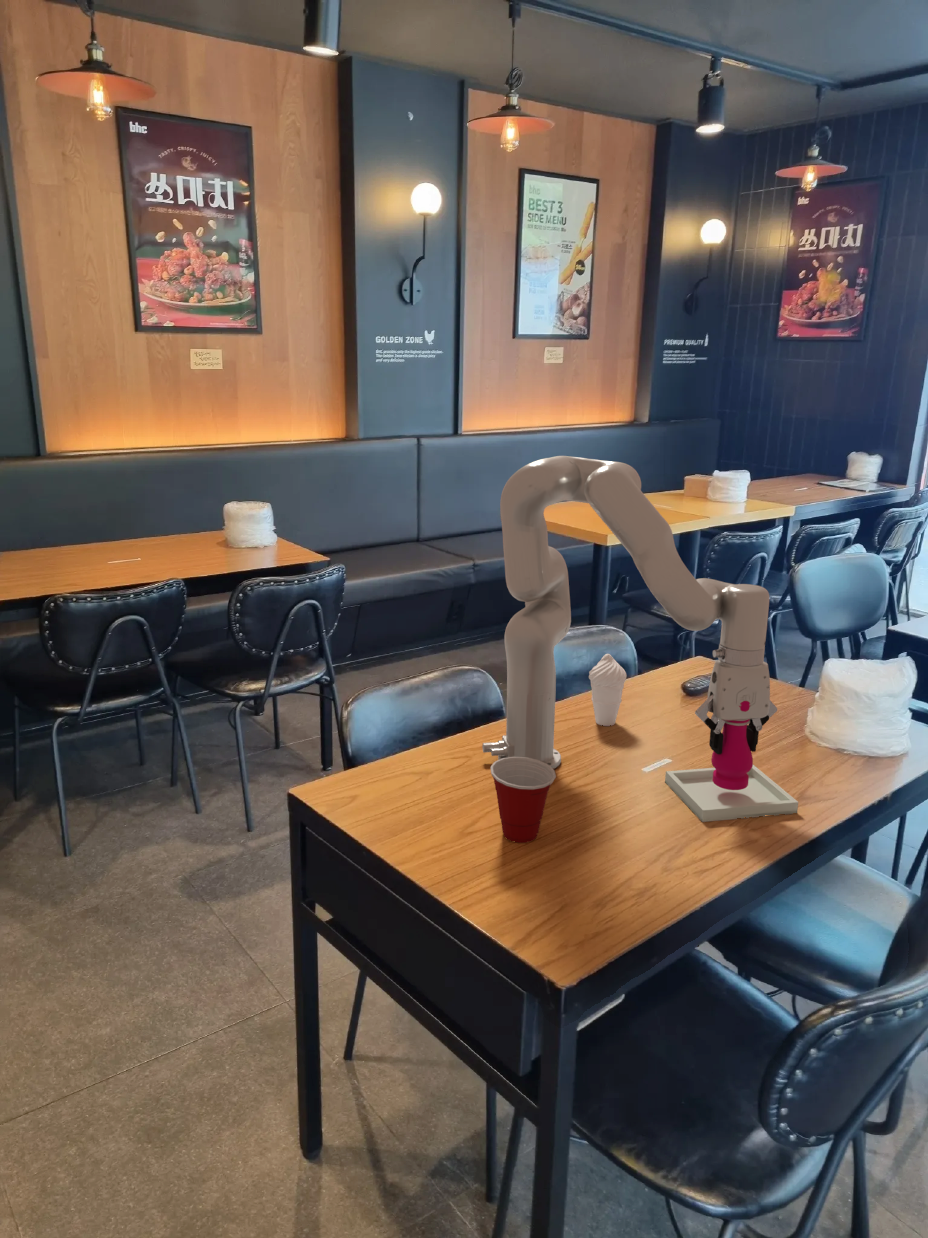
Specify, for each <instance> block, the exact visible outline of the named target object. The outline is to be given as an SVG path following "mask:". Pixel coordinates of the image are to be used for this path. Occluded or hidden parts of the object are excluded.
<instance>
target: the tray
mask: <svg viewBox="0 0 928 1238" xmlns="http://www.w3.org/2000/svg"><path fill="white" fill-rule="evenodd" d="M714 770H715V768H714V767H708V768H707V767H706V768H705V767H704V768H693V769H692V768H691V769H678V770H668V771H665V777H664V778H665V780H664V783H665V784H666V785H667V786H668V787H669V788H670V789H671V790H672V791H673V792H674V793H675V795H676V796H677V797H678V798H679V799H680V800H681V801H682V803H684V805H686V806H687V807H688V809H690V811H691V812H692V813H693V814H694V815H695V816H696V817H697V818H698V819H699V821H701V822H702V823H705V822H706V823H707V822H716V821H726V820H727V821H728V820H738V819H737V818H741V819H750V818H749V817H752V818H759V816H763V817H766V816H765V815H774V816H780V815H779V814H785V815H794V814H793V813H797V814H798V810H799V809H798V808H799V801H798V800H797V799H795V798H794V797H793V796H792V795H791V794H790V793H788V792H787V791H786V790H785V789H783V788H782V787H781V786H780V785H779V784H777V783H776V782H775V781H774V780H773V779H771V778H770V777H769V776H768V775H767V774H765V773H764V772H763V771H762V770H761V769H759V768H758V767H757V766H756V765H754V764H753V766H752V768H751V770H750V771H749V772H748V773H747V774H748V776H749V780H748V786H747V787H746V788H744V789H741V790H728V789H723V788H721V787H718V786H717V785H715V784H714V783H713V771H714ZM744 817H746V818H744Z"/></svg>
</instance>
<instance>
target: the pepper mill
mask: <svg viewBox="0 0 928 1238" xmlns="http://www.w3.org/2000/svg"><path fill="white" fill-rule="evenodd" d="M740 704H741V706H739V707H740V710H741V711H743V712H746V711H748V710H749V708H750V706H751V705H750V706H749V704H750V702H748V701H743V702H741V703H740ZM749 723H750V719H747V720H732V721H725V723H724V726H723V728H722V731H721V733H722V734H723V747H722V753H721V754H717V753H715V752H714V751H713V750H712V754H711V758H710V759H711V764H712V766H713V768H715V770H714V771H713V783H714V784H715V785H717V786H718V787H721V788H723V789H728V790H741V789H744V788H746V787H747V786H748V780H749V776H748V774H747V773H748V772H749V771H750V770H751V768H752V766H753V765H754V763H753V762H754V759H753V752H752V751H751V750H750V748H749V746H748V743H747V738H746V729H747V725H749Z"/></svg>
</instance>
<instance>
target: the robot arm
mask: <svg viewBox="0 0 928 1238" xmlns="http://www.w3.org/2000/svg"><path fill="white" fill-rule="evenodd" d="M564 501H568V502H578V503H585V504H589V505H590V507H591V508H592V510H593V511H594V512H595V513H596V514H597V516H598V517H599V518H600V519H601V520H602V522H603V523H604V524H605V525H606V526H607V527H608V529H609V531H611V533H612V534H613V535H614V536H615V537H616V539H617V540H618V541H619V542H620V544H621V545H622V546H623V548H624V549H626V551H627V552H628V554H629V555H630V556H631V558H632V560H633V563H634V565H635V567H636V568H637V570H638V572H639V574H640V575H641V577H642V579H643V581H644V583H645V584H646V586H647V588H648V589H649V591H650V592H651V594H652V595H653V597H654V598H655V599H656V600H657V601H658V603H659V605H661V607H662V608H663V609H664V610H665V612H666V613H667V614H668V615H669V616H670V617H671V618H672V620H673V621H674V622H676V624H678V625H679V626H681V628H684V629H685V630H689V631H691V632H692V631H693V632H699V631H703V630H705V629H707V628H709V627H711V625H713V623H714V622H715V621H716V620H720V621H721V628H720V629H721V631H720V640H719V644H718V648H717V649H714V650H712V657H713V658H718V659H716V660H715V662H714V665H713V668H712V671H711V674H710V675H711V676H710V678H709V686H708V689H707V690H708V691H707V698H706V700H705V701H704V702H703V703H701V705H699V707H698V708H697V709H696V710H695V711H694V714H695V715H696V717H697V718H699V719H700V720H701V722H703V723H704V724H705V726H707V727H708V728H709V729H710V731H709V732H710V733H709V747H710V749H711V750H712V752H713V751H714V752H715V753H717V754H721V753H722V747H723V734H722V731H723V726H724V723H725V721H732V720H747V719H750V723H749V724H747V729H746V738H747V743H748V746H749V748H750V750H751V753H753V752H756V751H757V745H758V743H759V734H760V731H762V730H763V726H764V725H765V724H766V723H767V722H768V721H769V719H770V718H771V717H772V716H774V714H776V713H777V712H778V707H777V706H776V704H775V703H773V701H771V681H770V680H771V679H770V671H769V664H768V663H767V662H765V661H764V660H765V658H764V657H765V649H766V647H765V646H766V639H767V630H768V619H769V610H770V609H769V607H770V593H769V591H768V590H767V589H766V588H765V587H763V586H761V585H757V584H749V583H738V584H735V583H730V582H724V581H721V580H717V579H712V578H708V577H707V578H706V577H703V578H695V577H694V575H693V574H692V573H691V571H690V570H689V568H687V566H686V564H685V563H684V562H683V560H682V558H681V557H680V555H679V552H678V550H677V547H676V544H675V539H674V534H673V531H672V527H671V525H669V522H668V521H666V519H665V518H664V517H663V516H662V514H661V513H660V512H659V511H658V510H657V508H656V507H655V506H654V505H653V504H652V502H651V501H650V500H649V499H648V498H647V496H646V495H645V494H644V493H643V491H642V481H641V477H640V475H639V473H638V472H637V470H636V469H635V468H634V467H633V466H632V465H629V464H627V463H624V462H620V461H610V460H600V459H594V458H586V457H580V456H579V457H577V456H570V455H569V456H567V455H557V456H552V457H545V458H541V459H538V460H534V461H532V462H529V463H528V464H525V465H524V466H522V467H521V468H519V469H517V471H515V472H514V473H513V474H512V475H511V476H510V477H509V478H508V480H506V482H505V485H504V486H503V489H502V491H501V495H500V502H499V503H500V505H499V507H500V508H499V509H500V519H501V521H500V522H501V531H502V547H503V561H504V573H505V576H504V577H505V583H506V587H507V589H508V592H509V594H510V595H511V596H512V597H513V598H514V599H516V600H517V601H519V602H524V605H525V607H524V608H522V609H521V610H519V611H517V612H515V614H514V615H512V617H511V618H510V620H509V622H508V623H507V625H506V627H505V630H504V631H505V632H504V640H503V641H504V648H505V656H506V657H505V658H506V670H507V671H506V678H507V679H506V723H505V724H506V731H505V732H506V734H505V735H502V737H501V738H502V739H501V740H497V742H492V741H491V742H482V746H481V747H482V753H484V754H485V753H490V754H491V757H496V756H497V758H498V759H497V761H498V760H500V759H502V758H508V757H527V758H531V759H536V760H539V761H541V762H543V763H546V764H548V765H549V766H550V767H551V768H552V769H553V770H555V769H556V768H557V767H559V766H560V765H561V762H562V756H561V753H560V752H559V751H558V750H557V749H555V748H554V744H555V742H554V741H555V719H556V718H555V717H556V716H555V715H556V692H557V691H556V683H557V675H556V674H557V672H556V662H555V653H554V649H555V647H556V646H557V645H558V644H559V643H560V642H561V641H562V640H564V638H565V637H566V636H567V635H568V633H569V631H570V627H571V623H572V611H571V610H572V609H571V596H570V585H569V581H570V580H569V571H568V567H567V564H566V560H565V559H564V556H563V555H562V554H561V553H560V551H559V550H557V548H555V547H552V546H550V545H549V539H548V538H549V535H548V525H547V521H546V518H545V514H544V513H545V509H546V508H547V507H549V506H551V505H555V504H559V503H561V502H564ZM743 701H748V702H750V704H749V706H750V705H751V706H750V708H749V710H748V711H746V712H743V711H741V710H740V707H739V706H741V704H740V703H741V702H743ZM709 712H710V713H712V716H708V713H709Z"/></svg>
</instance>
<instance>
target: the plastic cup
mask: <svg viewBox="0 0 928 1238" xmlns="http://www.w3.org/2000/svg"><path fill="white" fill-rule="evenodd" d="M490 773H491V776H492V778H493V783H494V787H495V791H496V797H497V804H498V813H499V818H500V819H499V820H500V823H501V829H502V833H503V837H504V838H505V837H506V838H507V839H506V838H505V839H506V840H507V841H511V842H512V841H515V842H514V843H517V842H518V843H517V844H520V843H521V844H524V843H525V844H527V843H529V842H533V841H535V840H536V839H537V837H538V834H539V830H540V826H541V822H542V819H543V816H544V815H543V814H544V810H545V807H546V803H547V798H548V794H549V792H550V791H549V790H550V788H551V785H552V784H553V782H554V780H555V779H556V778H557V775H556V771H555V769H552V768H551V767H550V766H549V765H548V764H546V763H543V762H541V761H539V760H536V759H531V758H527V757H508V758H502V759H500V760H498V759H497V760H496V761H493V763H492V764H491V766H490Z"/></svg>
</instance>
